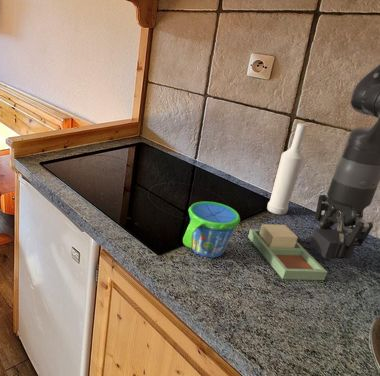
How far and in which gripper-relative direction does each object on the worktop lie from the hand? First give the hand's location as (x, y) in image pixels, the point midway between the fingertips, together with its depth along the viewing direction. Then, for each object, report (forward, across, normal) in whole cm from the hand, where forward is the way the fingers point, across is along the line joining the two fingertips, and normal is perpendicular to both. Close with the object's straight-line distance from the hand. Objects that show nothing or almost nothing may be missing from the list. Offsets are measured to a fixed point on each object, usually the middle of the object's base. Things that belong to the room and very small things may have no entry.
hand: (330, 249), depth 89 cm
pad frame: (+4, +2, +8) cm, 9 cm away
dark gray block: (+1, 0, 0) cm, 1 cm away
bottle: (+4, +25, -2) cm, 25 cm away
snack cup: (+4, +4, +25) cm, 26 cm away
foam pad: (+3, +6, +8) cm, 11 cm away
